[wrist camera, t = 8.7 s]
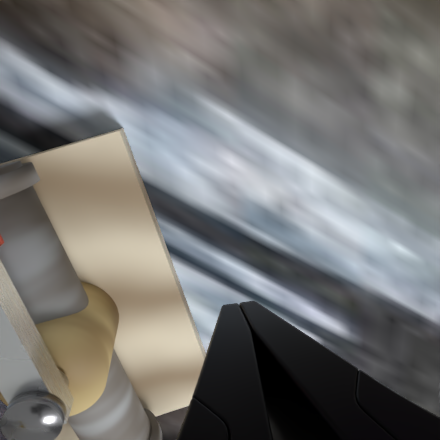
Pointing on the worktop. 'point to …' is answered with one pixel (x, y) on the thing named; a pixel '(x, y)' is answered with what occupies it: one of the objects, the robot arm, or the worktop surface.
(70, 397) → the valve lever
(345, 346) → the worktop surface
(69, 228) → the valve board
